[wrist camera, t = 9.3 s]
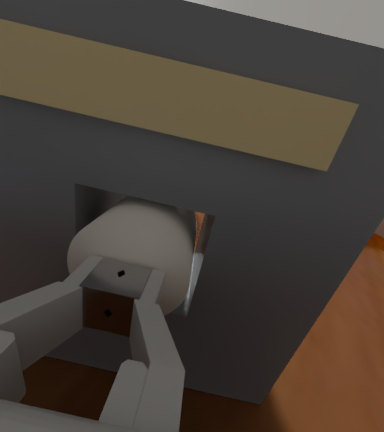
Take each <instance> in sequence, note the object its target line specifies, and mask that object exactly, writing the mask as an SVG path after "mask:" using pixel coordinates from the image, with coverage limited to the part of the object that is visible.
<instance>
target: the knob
mask: <svg viewBox="0 0 384 432" xmlns="http://www.w3.org/2000/svg"><path fill="white" fill-rule="evenodd" d="M196 231H197V219H196V215H195V212H194V211H192V210H188V209H184V208H179V207H175V206H171V205H166V204H162V203H158V202H154V201H149V200H145V199H141V198H136V197H132V196H126V197H125V198H124V199H122V200H121V201H120V202H118V203H117V204H115V205H114V206H113V207H111V208H110V209H109V210H107V211H106V212H105V213H103V214H102V215H101V216H99V217H98V218H96V219H95V220H94V221H92V222H91V223H90V224H88V225H87V226H86V227H84V228H83V229H82V230H81V231H79V232H78V233H77V235H76V236H75V237H74V239H73V240H72V242H71V244H70V246H69V249H68V254H67V265H68V270H69V274H71V273H72V272H73V271H74V270H75V269H76V268H77V267H78V266H79V265H80V264H81V263H82V262H83V261H84V260H85V259H86V258H87V257H88V256H90V255H96V256H100V257H104V258H109V259H113V260H116V261H120V262H124V263H128V264H132V265H137V266H141V267H146V268H150V269H156V270H161V271H165V272H166V274H165V280H164V284H163V289H162V294H161V298H160V303H159V305H160V308H161V310H162V313H163V315H164V316H165V315H167V314H169V313H170V312H172V311H173V310H175V309H176V308H177V307H178V306H179V305H180V304H181V303H182V301H183V300H184V298H185V296H186V294H187V292H188V289H189V283H190V276H191V268H192V261H193V253H194V246H195V238H196Z"/></svg>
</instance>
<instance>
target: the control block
mask: <svg viewBox="0 0 384 432" xmlns="http://www.w3.org/2000/svg"><path fill="white" fill-rule="evenodd" d="M127 195H128V196H132V197H136V198H141V199H145V200H149V201H154V202H158V203H162V204H166V205H171V206H175V207H179V208H184V209H188V210H192V211H197V212H201V213H205V215H204V219H203V223H202V227H201V230H200V234H199V238H198V242H197V246H196V249H195V253H193V261H192V268H191V276H190V283H189V289H188V292H187V294H186V296H185V298H184V300H183V301H182V303H181V304H180V305H179V306H178V307H177V308H176V309H175V310H173V311H172V312H170V313H169V314H167V315H165V316H164V318H165V321H166V323H167V326H168V328H169V331H170V333H171V336H172V339H173V341H174V344H175V346H176V349H177V351H178V354H179V357H180V359H181V362H182V364H183V367H184V369H185V377H184V388H188V389H193V390H197V391H201V392H206V393H210V394H215V395H219V396H224V397H228V398H233V399H237V400H241V401H246V402H250V403H255V404H259V405H261V403H262V402H263V400H264V399H265V397H266V396H267V394H268V393H269V391H270V390H271V388H272V387H273V385H274V384H275V382H276V381H277V379H278V378H279V376H280V374H281V373H282V371H283V370H284V368H285V367H286V365H287V364H288V362H289V361H290V359H291V358H292V356H293V355H294V353H295V352H296V350H297V349H298V347H299V346H300V344H301V343H302V341H303V340H304V338H305V337H306V335H307V334H308V332H309V331H310V329H311V327H312V326H313V324H314V323H315V321H316V320H317V318H318V317H319V315H320V314H321V312H322V311H323V309H324V308H325V306H326V305H327V303H328V302H329V300H330V299H331V297H332V296H333V294H334V293H335V291H336V290H337V288H338V287H339V285H340V283H341V282H342V280H343V279H344V277H345V276H346V274H347V273H348V271H349V270H350V268H351V267H352V265H353V264H354V262H355V261H356V259H357V258H358V256H359V255H360V253H361V252H362V250H363V249H364V247H365V246H366V244H367V243H368V241H369V240H370V238H371V236H372V235H373V233H374V232H375V230H376V229H377V227H378V226H379V224H380V223H381V221H382V220H383V218H384V49H383V48H379V47H375V46H371V45H366V44H362V43H358V42H354V41H350V40H346V39H342V38H338V37H333V36H329V35H325V34H321V33H317V32H313V31H309V30H304V29H300V28H296V27H292V26H288V25H284V24H280V23H275V22H271V21H267V20H263V19H259V18H255V17H250V16H246V15H242V14H238V13H234V12H229V11H226V10H221V9H217V8H213V7H209V6H205V5H201V4H197V3H192V2H188V1H184V0H0V303H2V302H5V301H8V300H10V299H13V298H16V297H18V296H21V295H23V294H26V293H29V292H31V291H34V290H37V289H39V288H42V287H45V286H47V285H50V284H53V283H55V282H63V281H64V280H65V279H66V278H67V277H68V276H69V275H70V274H69V270H68V265H67V254H68V249H69V246H70V244H71V242H72V240H73V239H74V237H75V236H76V235H77V233H78V232H79V231H81V230H82V229H83V228H84V227H86V226H87V225H88V224H90V223H91V222H92V221H94V220H95V219H96V218H98V217H99V216H101V215H102V214H103V213H105V212H106V211H107V210H109V209H110V208H111V207H113V206H114V205H115V204H117V203H118V202H120V201H121V200H122V199H124V198H125V197H126V196H127ZM45 356H46V357H51V358H55V359H60V360H64V361H68V362H73V363H77V364H82V365H86V366H91V367H95V368H99V369H104V370H108V371H113V372H117V373H118V371H119V368H120V366H121V364H122V363H123V362H125V361H126V360H128V359H129V360H132V354H131V347H130V341H129V337H126V336H122V335H118V334H115V333H111V332H107V331H102V330H97V329H92V328H87V327H83V328H82V329H81V330H80V331H78V332H77V333H75V334H74V335H73V336H71V337H70V338H68V339H67V340H66V341H64V342H63V343H61V344H60V345H59V346H57V347H56V348H54V349H53V350H52V351H50V352H49V353H47V354H46V355H45Z"/></svg>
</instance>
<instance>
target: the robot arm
mask: <svg viewBox="0 0 384 432" xmlns="http://www.w3.org/2000/svg"><path fill="white" fill-rule="evenodd" d="M165 274H166V272H165V271H161V270H156V269H150V268H146V267H141V266H137V265H132V264H128V263H124V262H120V261H116V260H113V259H109V258H104V257H100V256H96V255H90V256H88V257H87V258H86V259H85V260H84V261H83V262H82V263H81V264H80V265H79V266H78V267H77V268H76V269H75V270H74V271H73V272H72V273H71V274H70V275H69V276H68V277H67V278H66V279H65V280H64V281H63V282H55V283H53V284H50V285H47V286H45V287H42V288H39V289H37V290H34V291H31V292H29V293H26V294H23V295H21V296H18V297H16V298H13V299H10V300H8V301H5V302H2V303H0V432H179V425H180V415H181V406H182V396H183V387H184V377H185V369H184V367H183V364H182V362H181V359H180V357H179V354H178V351H177V349H176V346H175V344H174V341H173V339H172V336H171V333H170V331H169V328H168V326H167V323H166V321H165V318H164V315H163V313H162V310H161V308H160V305H159V303H160V298H161V294H162V289H163V284H164V280H165ZM83 327H87V328H92V329H97V330H102V331H107V332H111V333H115V334H118V335H122V336H126V337H129V341H130V347H131V354H132V360H129V359H128V360H126V361H125V362H123V363H122V364H121V366H120V368H119V371H118V373H117V376H116V378H115V381H114V383H113V386H112V388H111V391H110V393H109V396H108V398H107V401H106V403H105V406H104V408H103V410H102V413H101V415H100V418H99V420H98V421H97V420H92V419H88V418H83V417H79V416H74V415H70V414H66V413H61V412H57V411H52V410H48V409H44V408H39V407H35V406H30V405H26V404H22V403H20V401H21V400H22V399H23V397H24V396H25V394H26V385H25V381H24V376H23V372H22V371H24V370H25V369H26V368H28V367H29V366H31V365H32V364H33V363H35V362H36V361H38V360H39V359H40V358H42V357H43V356H45V355H46V354H47V353H49V352H50V351H52V350H53V349H54V348H56V347H57V346H59V345H60V344H61V343H63V342H64V341H66V340H67V339H68V338H70V337H71V336H73V335H74V334H75V333H77V332H78V331H80V330H81V329H82V328H83Z"/></svg>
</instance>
